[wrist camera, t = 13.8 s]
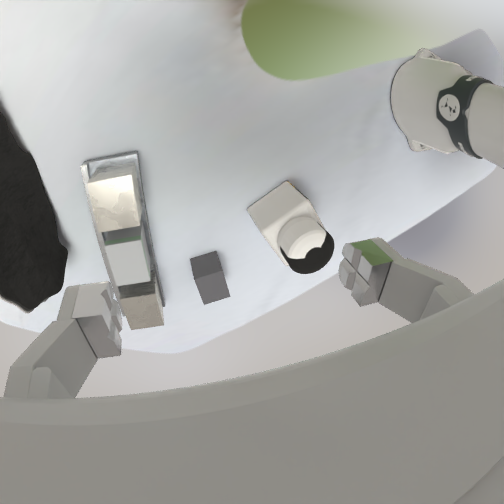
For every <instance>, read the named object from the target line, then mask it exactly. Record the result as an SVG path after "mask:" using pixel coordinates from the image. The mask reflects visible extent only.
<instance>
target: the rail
mask: <svg viewBox="0 0 504 504" xmlns="http://www.w3.org/2000/svg"><path fill="white" fill-rule="evenodd" d="M80 167H81V172H82V177H83V182H84V187H85V191H86V196H87V200H88V205H89V209H90V213H91V217H92V221H93V225H94V228H95V232H96V236H97V239H98V243H99V246H100V250H101V253H102V256H103V260H104V263H105V266H106V269H107V272H108V275H109V278H110V281H111V284H112V287H113V290H114V293H115V296H116V298H117V301H118V304H119V306H120V309H121V312H122V314H123V316H126V318H127V321H128V323H129V326H130V328H131V330H134V329H142V328H149V327H155V326H162V325H164V318H163V307H165V299H164V295H163V291H162V287H161V282H160V278H159V274H158V269H157V264H156V260H155V255H154V250H153V245H152V240H151V235H150V229H149V224H148V218H147V213H146V207H145V200H144V194H143V188H142V181H141V174H140V166H139V159H138V151H136V152H130V153H124V154H118V155H113V156H108V157H103V158H98V159H93V160H88V161H85V162H84V163H83V164H82V165H81V166H80ZM141 221H143V227H144V232H145V237H146V242H147V246H148V251H149V256H150V281H148V282H141V283H135V284H128V285H122V286H117V285H116V282H115V279H114V276H113V273H112V270H111V267H110V263H109V260H108V257H107V253H106V250H105V241H106V238H107V234H108V231H112V230H118V229H124V228H130V227H136V226H140V222H141Z"/></svg>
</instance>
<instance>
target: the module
mask: <svg viewBox="0 0 504 504" xmlns="http://www.w3.org/2000/svg"><path fill="white" fill-rule="evenodd" d="M105 250H106V253H107V257H108V260H109V263H110V267H111V270H112V273H113V276H114V279H115V282H116V285H117V286H122V285H128V284H135V283H141V282H148V281H150V256H149V251H148V246H147V242H146V237H145V232H144V227H143V221H141V222H140V226H136V227H130V228H124V229H118V230H112V231H108V234H107V238H106V241H105Z"/></svg>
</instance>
